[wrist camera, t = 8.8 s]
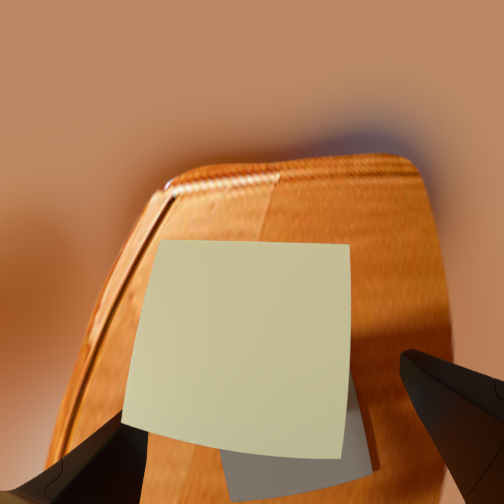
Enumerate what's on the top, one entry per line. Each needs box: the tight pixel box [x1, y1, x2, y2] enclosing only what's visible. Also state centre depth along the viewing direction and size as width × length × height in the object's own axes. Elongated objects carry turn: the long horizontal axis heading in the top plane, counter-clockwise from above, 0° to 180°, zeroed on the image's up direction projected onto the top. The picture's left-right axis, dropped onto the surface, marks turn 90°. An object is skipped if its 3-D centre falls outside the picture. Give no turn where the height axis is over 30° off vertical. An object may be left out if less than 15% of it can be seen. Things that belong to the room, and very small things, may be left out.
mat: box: [219, 367, 373, 502], centre depth 17 cm, size 14×9×1 cm, turn 11°
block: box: [121, 240, 351, 459], centre depth 11 cm, size 4×4×13 cm
